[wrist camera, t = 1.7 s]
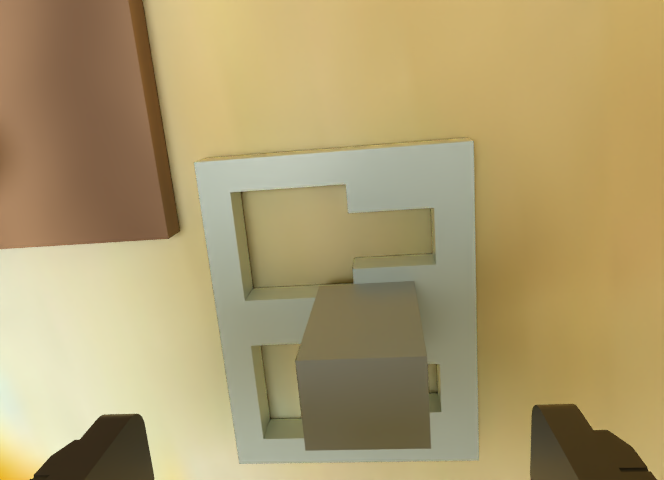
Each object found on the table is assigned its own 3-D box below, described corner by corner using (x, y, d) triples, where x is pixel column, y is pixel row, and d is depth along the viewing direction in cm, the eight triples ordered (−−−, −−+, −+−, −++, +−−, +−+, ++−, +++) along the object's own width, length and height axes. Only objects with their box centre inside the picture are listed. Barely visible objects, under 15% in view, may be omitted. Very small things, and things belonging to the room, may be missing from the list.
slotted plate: (467, 137, 17) (514, 162, 11) (473, 438, 19) (513, 590, 14) (206, 158, 18) (116, 191, 12) (247, 442, 20) (192, 587, 14)
